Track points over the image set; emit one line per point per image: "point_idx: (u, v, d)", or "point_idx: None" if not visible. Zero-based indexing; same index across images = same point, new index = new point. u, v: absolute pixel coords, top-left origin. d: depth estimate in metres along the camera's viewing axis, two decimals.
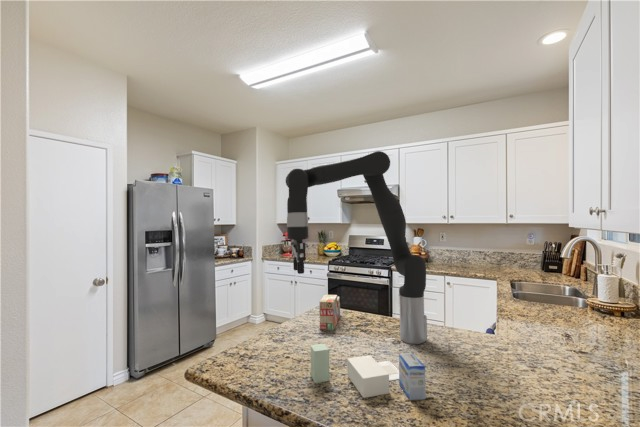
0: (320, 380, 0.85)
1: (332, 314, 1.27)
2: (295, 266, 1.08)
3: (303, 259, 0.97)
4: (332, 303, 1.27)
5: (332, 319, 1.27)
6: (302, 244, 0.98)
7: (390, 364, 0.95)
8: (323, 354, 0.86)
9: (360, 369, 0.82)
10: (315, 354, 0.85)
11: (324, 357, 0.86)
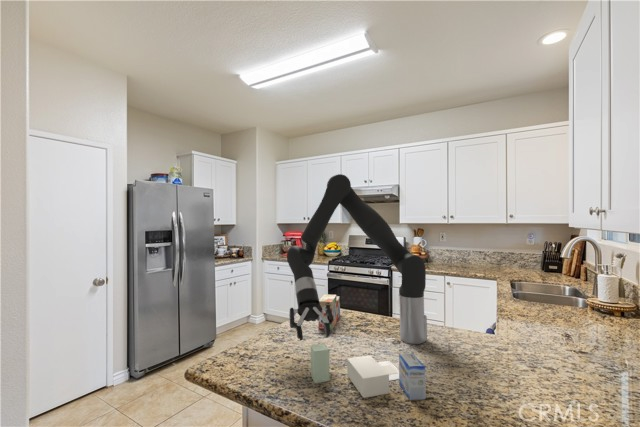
0: (320, 380, 0.85)
1: None
2: (325, 332, 0.95)
3: (290, 324, 0.94)
4: (331, 303, 1.28)
5: None
6: None
7: (390, 364, 0.95)
8: (323, 354, 0.86)
9: (360, 369, 0.82)
10: (315, 354, 0.85)
11: (324, 357, 0.86)
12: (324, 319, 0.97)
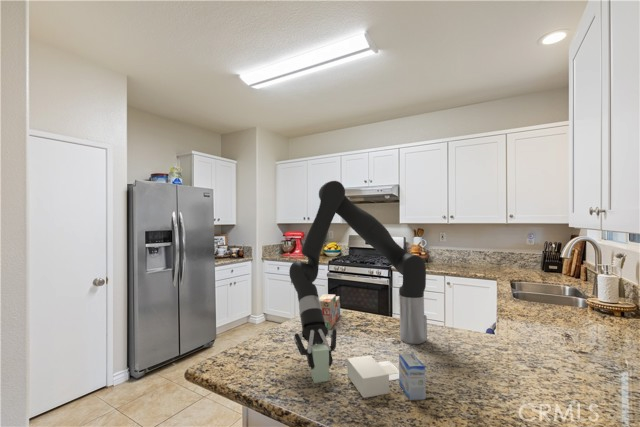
0: (320, 380, 0.85)
1: (329, 313, 1.28)
2: None
3: (301, 351, 0.88)
4: (329, 303, 1.28)
5: (329, 318, 1.28)
6: (294, 337, 0.91)
7: (390, 364, 0.95)
8: (323, 354, 0.86)
9: (360, 369, 0.82)
10: (315, 354, 0.85)
11: (323, 357, 0.86)
12: (326, 345, 0.90)
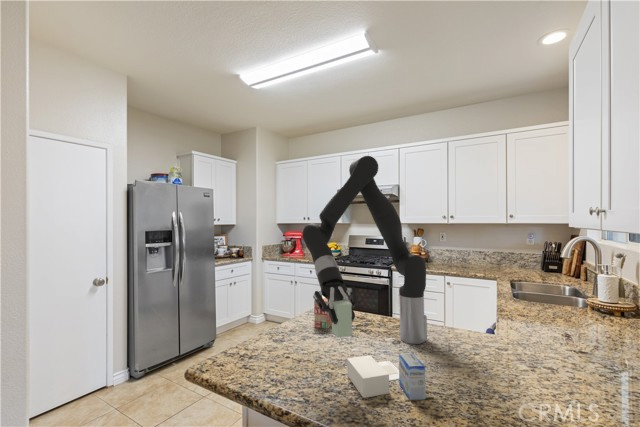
0: (343, 335, 0.84)
1: (326, 313, 1.29)
2: None
3: (322, 307, 0.86)
4: (326, 302, 1.29)
5: (326, 318, 1.29)
6: (314, 294, 0.88)
7: (390, 364, 0.95)
8: (346, 308, 0.84)
9: (360, 369, 0.82)
10: (338, 308, 0.84)
11: (346, 311, 0.84)
12: None
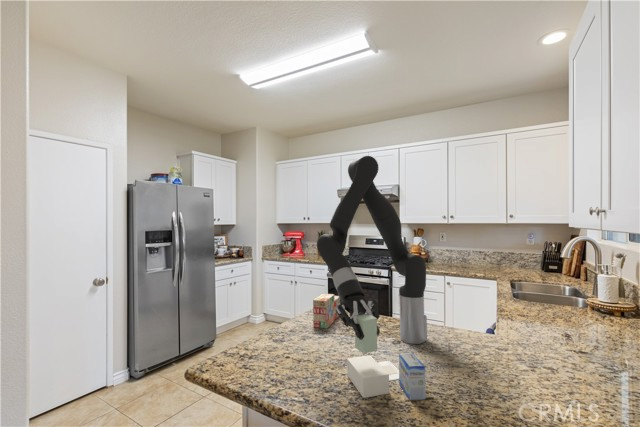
0: (369, 350, 0.82)
1: (325, 313, 1.29)
2: None
3: (347, 322, 0.83)
4: (325, 302, 1.29)
5: (325, 318, 1.29)
6: (337, 308, 0.86)
7: (390, 364, 0.95)
8: (372, 323, 0.83)
9: (360, 369, 0.82)
10: (364, 323, 0.82)
11: (372, 326, 0.83)
12: None
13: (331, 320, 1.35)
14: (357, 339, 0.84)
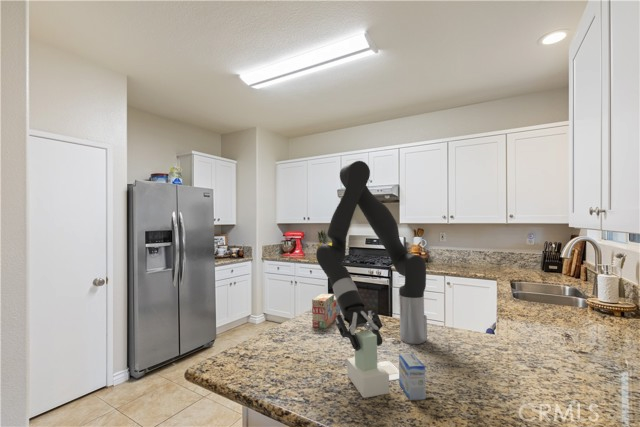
0: (369, 368, 0.82)
1: (324, 313, 1.29)
2: None
3: (343, 333, 0.83)
4: (324, 302, 1.29)
5: (324, 317, 1.29)
6: (336, 318, 0.86)
7: (390, 364, 0.95)
8: (372, 341, 0.83)
9: (360, 369, 0.82)
10: (364, 341, 0.82)
11: (372, 343, 0.83)
12: (373, 325, 0.87)
13: (330, 320, 1.35)
14: (357, 356, 0.84)
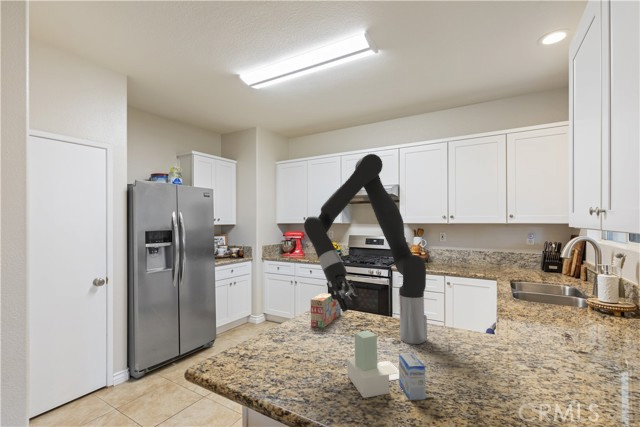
0: (369, 368, 0.82)
1: (322, 312, 1.30)
2: (354, 305, 1.02)
3: (336, 296, 0.94)
4: (322, 301, 1.30)
5: (322, 317, 1.30)
6: (330, 282, 0.96)
7: (390, 364, 0.95)
8: (372, 341, 0.83)
9: (360, 369, 0.82)
10: (364, 341, 0.82)
11: (372, 343, 0.83)
12: (354, 293, 1.03)
13: (329, 319, 1.36)
14: (357, 356, 0.84)
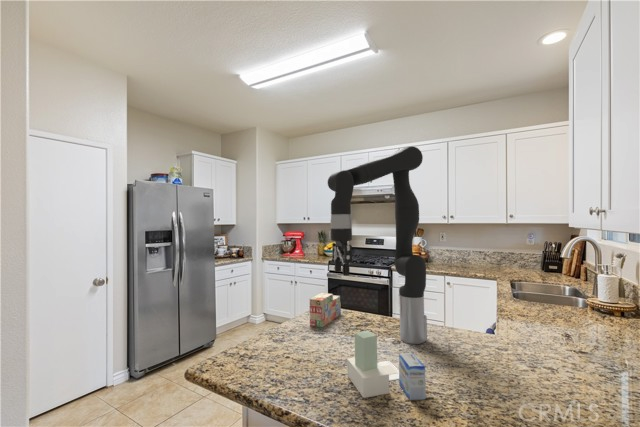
0: (369, 368, 0.82)
1: (320, 312, 1.31)
2: (337, 267, 1.08)
3: (350, 261, 0.98)
4: (320, 301, 1.31)
5: (320, 317, 1.30)
6: (349, 246, 0.98)
7: (390, 364, 0.95)
8: (372, 341, 0.83)
9: (360, 369, 0.82)
10: (364, 341, 0.82)
11: (372, 343, 0.83)
12: None
13: (328, 319, 1.36)
14: (357, 356, 0.84)
